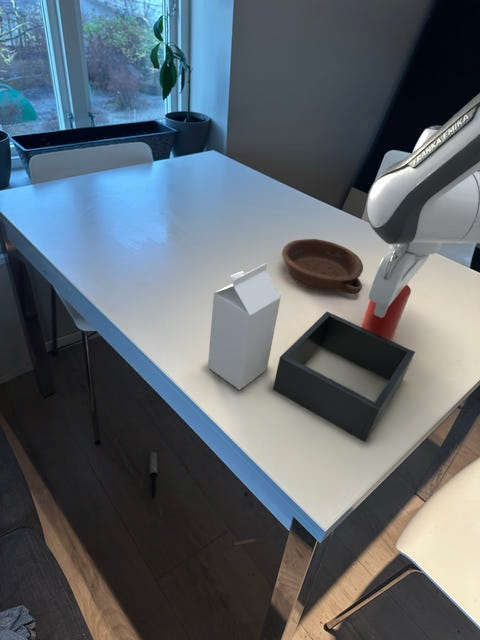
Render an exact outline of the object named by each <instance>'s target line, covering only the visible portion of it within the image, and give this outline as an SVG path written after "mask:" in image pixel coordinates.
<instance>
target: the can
mask: <svg viewBox="0 0 480 640" xmlns="http://www.w3.org/2000/svg"><path fill="white" fill-rule="evenodd" d="M411 293H412V289H411V287H410V286H409V285H408V284H407V285H406V286H405V287H404V288H403V290H402V291H401V292H400V293H399V295H398V296H397V297H396V298H395V299H394V301H393V302H392V303H391V304H390V305H389V308H388V311H387V313H386V315H385V316H384V317H383V318H380V317H378V316H376V315H375V314H374V311H375V308H376V303H375V302H372V301H371V300H369V302H368V305H367V308H366V311H365V314H364V316H363V320H362V323H361V326H360V327H362V328H364V329H367V330H369V331H371V332H373V333H375V334H377V335H380V336H382V337H384V338H386V339H388V340H391V341H393V338H394V336H395V333H396V331H397V328H398V325H399V324H400V320H401V318H402V315H403V313H404V311H405V309H406V306H407V303H408V301H409V299H410V296H411Z"/></svg>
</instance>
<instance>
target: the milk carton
mask: <svg viewBox="0 0 480 640" xmlns="http://www.w3.org/2000/svg"><path fill="white" fill-rule="evenodd" d="M267 265H268V262H267V263H262V264H261V265H259V266H257V267H255V268H253V269H251V270H248V271H247V272H244V271H243V270H242V271H238V272H236V273H233V274H232V275H230V276H229V280H230V282H231V284H228V285H227V286H224V287H223V288H221V289H219V290H217V291H215V292H213V297H212V298H213V299H212V310H211V325H210V335H209V349H208V361H207V368H208V369H209V370H211V371H212V372H214V373H215V374H216V375H217V376H219V377H220V378H222V379H223V380H225V381H226V382H228V384H230V385H231V386H233V387H234V388H235V389H237V390H239V391H240V390H242V389H243V388H245V387H246V386H247V385H249V384H250V383H251V382H253V381H254V380H255V379H256V378H258V377H259V376H261V375H262V374H263V373H264V372H266V371H267V370H268V367H269V360H270V356H271V350H272V346H273V345H272V344H273V340H274V334H275V330H276V323H277V319H278V315H279V308H280V304H281V298H282V296H281V294H280V292H279V290H278V288H277V287H276V285H275V283H274V282H273V281H274V280H272V278H271V275H270V274H269V273H268V271H267Z"/></svg>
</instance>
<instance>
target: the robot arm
mask: <svg viewBox="0 0 480 640" xmlns="http://www.w3.org/2000/svg"><path fill="white" fill-rule="evenodd" d="M365 214H366V219H367V222H368V224H369V225H370V227H371V229H372V230H373V231H374V232H375V234H376V235H377V236H378V237H379V238H380V239H381V240H382V241H383V242H385V243H386V244H388V245H389V246H388V248H389V251H388V252H387V253H386V254H385V255H384V256H383V258H382V259H381V261H380V263H379V265H378V267H377V270H376V272H375V274H374V276H373V280H372V283H371V285H370V288H369V290H368V295H367V297H368V300H369V301H370V300H371V301H372V302H375V303H376V308H375V311H374V314H375V315H376V316H378V317H380V318H383V317H384V316H385V315H386V313H387V311H388V308H389V305H390V304H391V303H392V302H393V301H394V299H395V298H396V297H397V296H398V295H399V293H400V292H401V291H402V290H403V288H404V287H405V286H406V285H408V284H409V283H410V281H412V279H413V277H415V275H416V274H417V273H418V272H419V270H420V269H422V267H423V266H424V265H425V263H426V262H427V260H428V259H429V257H430V256H431V255H434V254H436V253H439V251H440V250H441V248H442V246H443V244H480V92H479V93H478V94H477V95H476V96H474V97H473V98H472V99H471V100H470V101H469V102H468V103H466V105H464V106H462V108H461V109H460V110H458V111H457V112H456V113H455V114H454V115H453V116H452V117H451V118H449V119H448V121H447V122H445V123H444V124H443V125H431V126H429V127H427V128H425V129H424V130H423V132H422V133H421V135H420V137H419V138H418V140H417V142H416V144H415V146H414V148H413V150H412V153H411V154H409V155H408V156H406V157H405V158H404V159H402V160H399V161H397V162H394V163H393V164H391V165H390V166H388V167H387V168H385V170H384V171H383V172H381V174H380V175H379V176H378V177H376V179H375V180H374V182H373V183H372V185H371V186H370V189H369V191H368V194H367V198H366V205H365Z"/></svg>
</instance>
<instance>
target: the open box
mask: <svg viewBox="0 0 480 640" xmlns="http://www.w3.org/2000/svg"><path fill="white" fill-rule="evenodd" d="M320 348H323V349H325V350H327V351H329V352H331V353H333V354H335V355H337V356H339V357H341V358H343V359H345V360H347V361H349V362H351V363H353V364H355V365H357V366H359V367H361V368H363V369H364V370H367V371H370V372H371V373H373V374H375V375H377V376H380V377H381V378H383V379H385V380H387V381H388V382H387V383H386V384H385V386H384V387H383V389H382V390H381V392H380V393H379V394H378V397H377V399H376V400H375V401H374V400H372V399H370V398H368V397H366V396H364V395H363V394H361V393H358V392H357V391H355V390H353V389H352V388H349V387H347V386H345V385H343V384H341V383H339V382H337V381H336V380H334V379H332V378H330V377H328V376H326V375H324V374H323V373H320V372H319V371H317V370H316V369H315V370H314V369H313V368H311V367H309V366H307V365H305V364H306V363H307V362H308V361H309V360H310V359H311V357H313V355H314V354H316V352H317V351H318V350H319V349H320ZM415 354H416V351H414V350H412V349H410V348H408V347H406V346H404V345H401V344H399V343H397V342H395V341H393V340H392V341H391V340H388V339H386V338H384V337H382V336H380V335H377V334H375V333H373V332H371V331H369V330H367V329H364V328H362V327H361V326H360V325H358V324H355V323H354V322H351V321H349V320H347V319H344V318H342V317H340V316H338V315H337V314H334V313H331V312H329V311H325V312H324V313H323V314H322V315H321V316H320V317H319V318H318V319H317V320H316V321H315V322H314V323H313V324H312V325H311V326H310V327H309V328H308V329H306V330H305V332H304V333H303V334H301V336H300V337H299V338H298V339H296V341H295V342H294V343H293V344H292V345H290V346H289V347H288V348H287V350H285V351H284V352H283V353H282V354H281V355H280V356H279V358H278V364H277V368H276V373H275V379H274V383H273V388H272V389H273V391H275V392H277V393H278V394H281V395H282V396H283V397H285V398H287V399H289V400H290V401H292V402H294V403H296V404H298V405H300V406H301V407H303V408H305V409H307V410H308V411H310V412H311V413H313V414H316V415H317V416H319V417H321V418H322V419H324V420H325V421H327V422H329V423H331V424H333V425H335V426H336V427H338V428H339V429H342V430H344V431H345V432H347V433H348V434H350V435H352V436H354V437H356V438H358V439H359V440H361V441H363V442H364V443H366V442H367V441H368V439H369V437H370V435H371V433H372V432H373V430H375V427H376V426H377V424H378V422H379V421H380V419H381V417H382V416H383V414H384V412H385V411H386V409H387V407H389V404H390V402H391V401H392V399H393V398H394V396H395V394H396V393H397V391H398V389H399V387H400V386H401V385H402V383H403V381H404V378H405V376H406V373H407V371H408V369H409V367H410V365H411V363H412V361H413V358H414V356H415Z"/></svg>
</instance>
